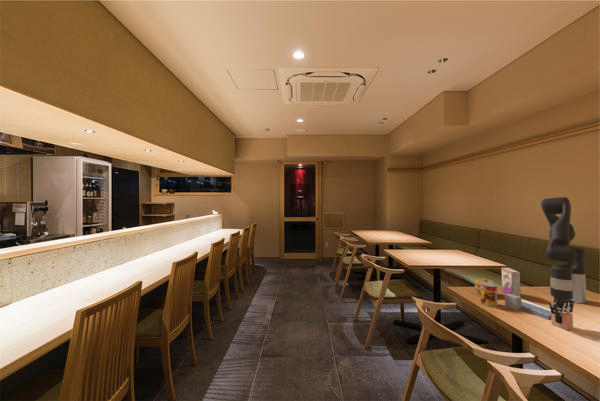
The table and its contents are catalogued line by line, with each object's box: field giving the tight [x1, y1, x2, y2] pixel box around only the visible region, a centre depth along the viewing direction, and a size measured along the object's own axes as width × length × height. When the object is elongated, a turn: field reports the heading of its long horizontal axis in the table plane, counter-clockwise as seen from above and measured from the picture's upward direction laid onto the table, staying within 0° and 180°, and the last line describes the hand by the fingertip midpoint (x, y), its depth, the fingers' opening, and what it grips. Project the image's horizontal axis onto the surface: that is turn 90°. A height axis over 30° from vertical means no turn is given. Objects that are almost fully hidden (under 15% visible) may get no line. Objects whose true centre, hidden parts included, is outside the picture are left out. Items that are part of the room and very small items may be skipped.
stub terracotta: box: [550, 310, 574, 331], centre depth 119 cm, size 4×6×7 cm, turn 15°
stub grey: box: [504, 293, 523, 311], centre depth 140 cm, size 4×6×7 cm, turn 15°
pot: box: [474, 278, 496, 294], centre depth 162 cm, size 12×12×10 cm
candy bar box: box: [501, 267, 522, 298], centre depth 160 cm, size 11×5×16 cm, turn 168°
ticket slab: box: [521, 297, 551, 321], centre depth 138 cm, size 12×20×2 cm, turn 15°
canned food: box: [480, 282, 498, 308], centre depth 146 cm, size 8×8×12 cm
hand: (562, 321), depth 119 cm, fingers open, 4 cm apart
